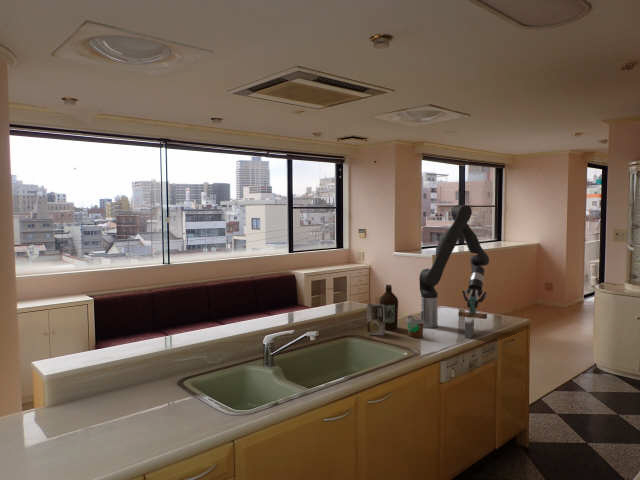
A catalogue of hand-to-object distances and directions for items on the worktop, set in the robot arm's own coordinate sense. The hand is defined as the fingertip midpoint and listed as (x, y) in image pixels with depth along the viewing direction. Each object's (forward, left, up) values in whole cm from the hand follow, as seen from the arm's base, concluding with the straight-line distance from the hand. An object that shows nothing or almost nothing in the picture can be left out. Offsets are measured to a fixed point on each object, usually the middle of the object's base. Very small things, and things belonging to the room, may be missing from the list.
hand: (472, 307), depth 268 cm
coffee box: (-51, -19, -13) cm, 56 cm away
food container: (-31, -20, -13) cm, 39 cm away
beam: (0, +2, -6) cm, 6 cm away
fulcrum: (-2, -12, -13) cm, 18 cm away
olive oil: (-46, -6, -13) cm, 48 cm away
